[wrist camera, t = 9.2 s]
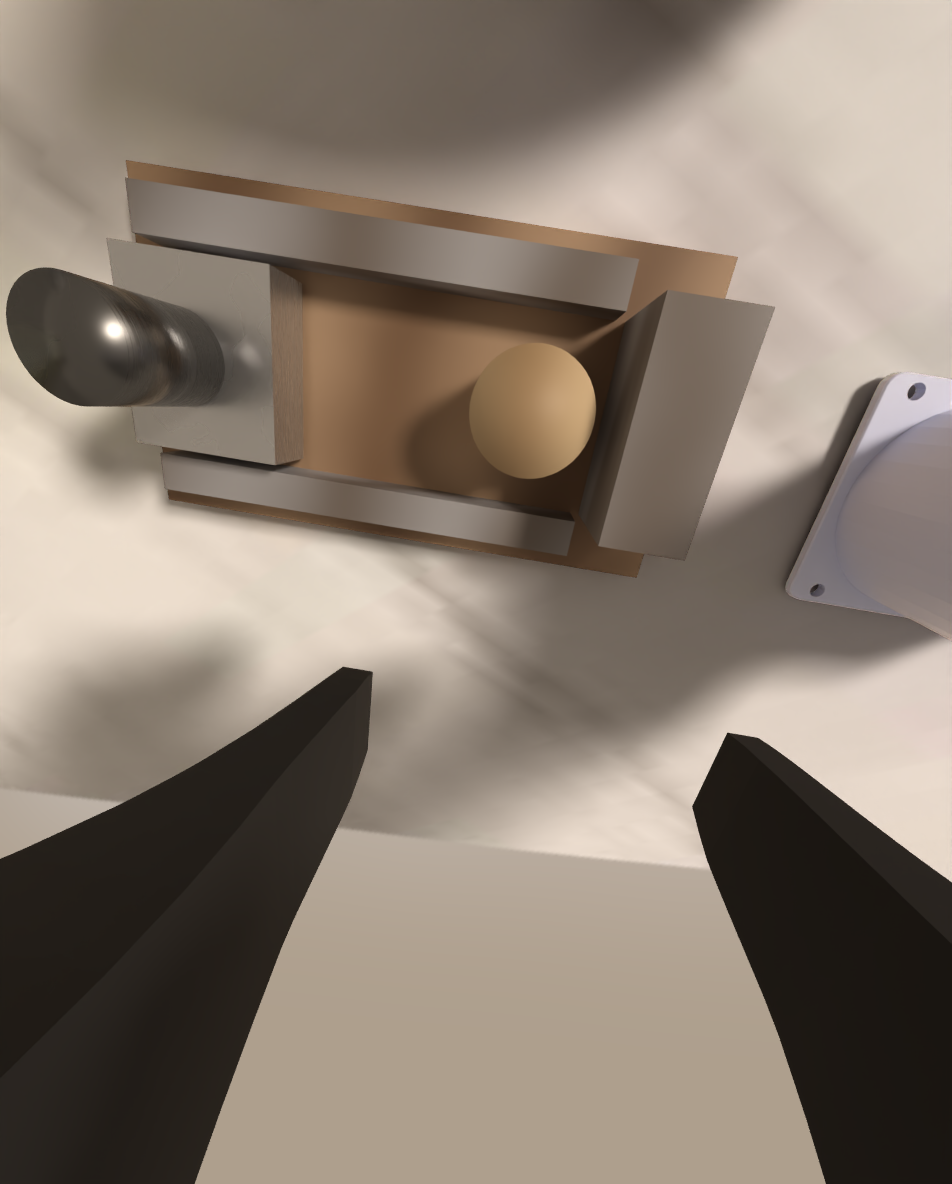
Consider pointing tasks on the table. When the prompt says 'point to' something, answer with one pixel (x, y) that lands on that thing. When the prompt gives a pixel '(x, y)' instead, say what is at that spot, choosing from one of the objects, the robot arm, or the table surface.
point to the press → (470, 369)
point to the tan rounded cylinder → (532, 410)
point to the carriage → (173, 348)
